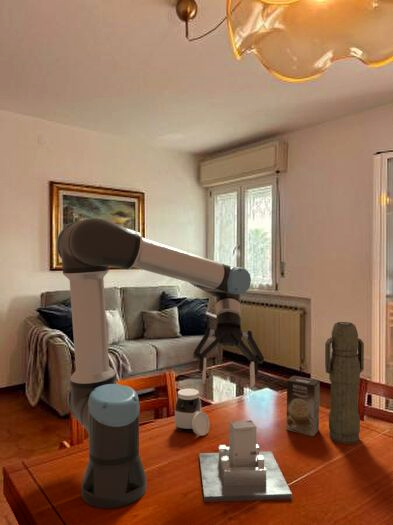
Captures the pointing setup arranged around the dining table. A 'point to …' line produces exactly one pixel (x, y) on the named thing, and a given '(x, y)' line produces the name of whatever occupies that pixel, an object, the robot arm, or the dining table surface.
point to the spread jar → (190, 413)
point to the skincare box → (242, 444)
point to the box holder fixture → (241, 478)
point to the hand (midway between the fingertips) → (228, 383)
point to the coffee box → (303, 405)
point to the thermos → (344, 381)
